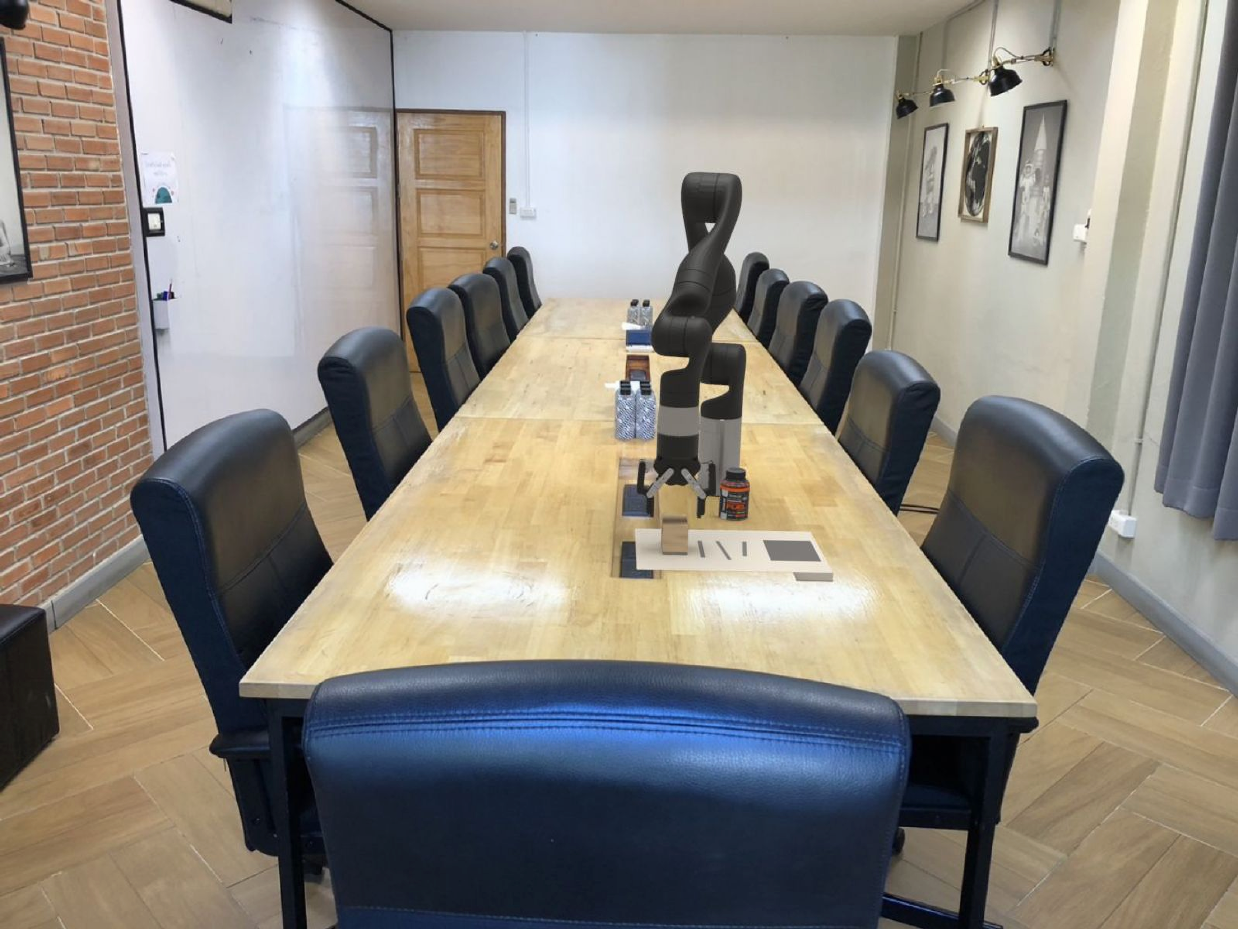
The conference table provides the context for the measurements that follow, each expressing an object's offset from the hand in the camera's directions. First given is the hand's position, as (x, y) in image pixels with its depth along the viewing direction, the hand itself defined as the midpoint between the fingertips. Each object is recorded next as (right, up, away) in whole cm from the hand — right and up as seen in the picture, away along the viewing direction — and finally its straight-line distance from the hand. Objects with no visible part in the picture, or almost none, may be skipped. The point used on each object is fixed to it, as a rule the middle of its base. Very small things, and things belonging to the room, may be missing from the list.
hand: (675, 516), depth 185 cm
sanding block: (0, -6, +2) cm, 6 cm away
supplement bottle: (+13, -3, +22) cm, 25 cm away
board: (+10, -8, +2) cm, 13 cm away
